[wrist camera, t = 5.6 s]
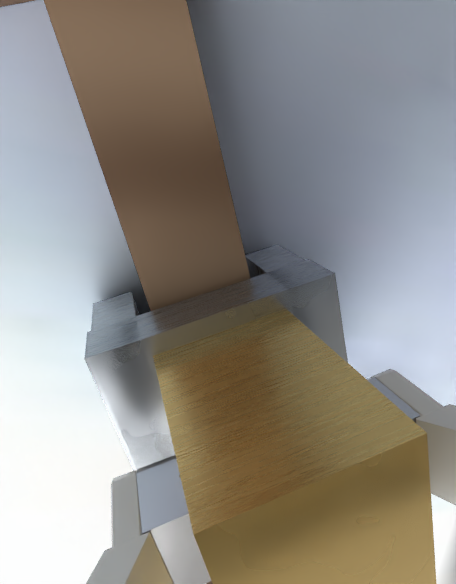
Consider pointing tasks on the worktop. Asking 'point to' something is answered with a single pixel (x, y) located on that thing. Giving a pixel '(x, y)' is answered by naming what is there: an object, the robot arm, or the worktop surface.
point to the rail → (154, 140)
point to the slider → (269, 430)
